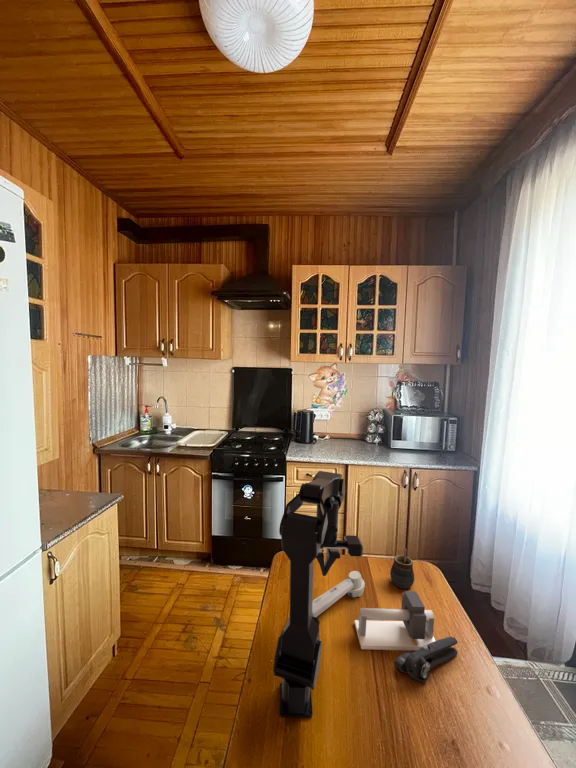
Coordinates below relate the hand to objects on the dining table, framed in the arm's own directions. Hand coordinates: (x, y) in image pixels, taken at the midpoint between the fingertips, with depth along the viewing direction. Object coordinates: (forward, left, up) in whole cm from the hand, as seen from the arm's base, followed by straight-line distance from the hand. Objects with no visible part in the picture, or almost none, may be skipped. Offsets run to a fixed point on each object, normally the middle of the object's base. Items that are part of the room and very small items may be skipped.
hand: (324, 574), depth 92 cm
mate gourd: (+15, -27, -12) cm, 33 cm away
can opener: (-14, -24, -12) cm, 30 cm away
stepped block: (-6, -22, -10) cm, 25 cm away
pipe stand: (-6, -18, -12) cm, 22 cm away
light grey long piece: (+4, -3, -12) cm, 14 cm away
